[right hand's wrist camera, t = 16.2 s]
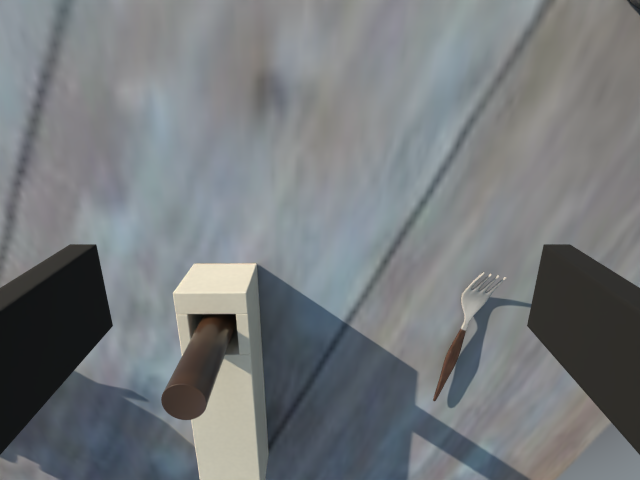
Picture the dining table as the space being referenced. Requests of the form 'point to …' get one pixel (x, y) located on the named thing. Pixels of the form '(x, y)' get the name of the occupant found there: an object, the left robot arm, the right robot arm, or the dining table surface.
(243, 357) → the peg block
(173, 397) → the walnut peg
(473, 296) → the fork
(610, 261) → the dining table surface
